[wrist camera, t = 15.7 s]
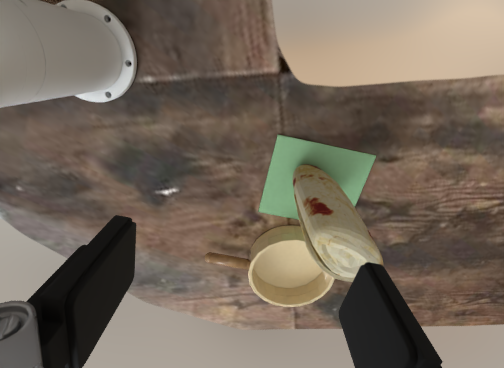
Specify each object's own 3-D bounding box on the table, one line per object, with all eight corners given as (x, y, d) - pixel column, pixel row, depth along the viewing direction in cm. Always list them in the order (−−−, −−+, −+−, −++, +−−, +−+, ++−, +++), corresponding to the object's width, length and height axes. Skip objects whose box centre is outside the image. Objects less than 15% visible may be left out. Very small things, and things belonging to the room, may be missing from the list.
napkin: (258, 211, 47) (258, 211, 47) (277, 134, 41) (277, 134, 41) (345, 227, 48) (345, 228, 48) (375, 155, 42) (376, 155, 42)
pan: (242, 281, 54) (241, 299, 50) (258, 218, 48) (258, 232, 43) (315, 294, 55) (319, 312, 51) (340, 233, 49) (347, 249, 44)
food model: (347, 183, 44) (409, 267, 26) (318, 210, 46) (357, 305, 28) (303, 147, 42) (339, 212, 23) (275, 177, 44) (288, 258, 26)
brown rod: (205, 257, 48) (203, 264, 46) (206, 249, 47) (204, 256, 46) (250, 265, 49) (250, 272, 47) (252, 257, 48) (252, 264, 46)
